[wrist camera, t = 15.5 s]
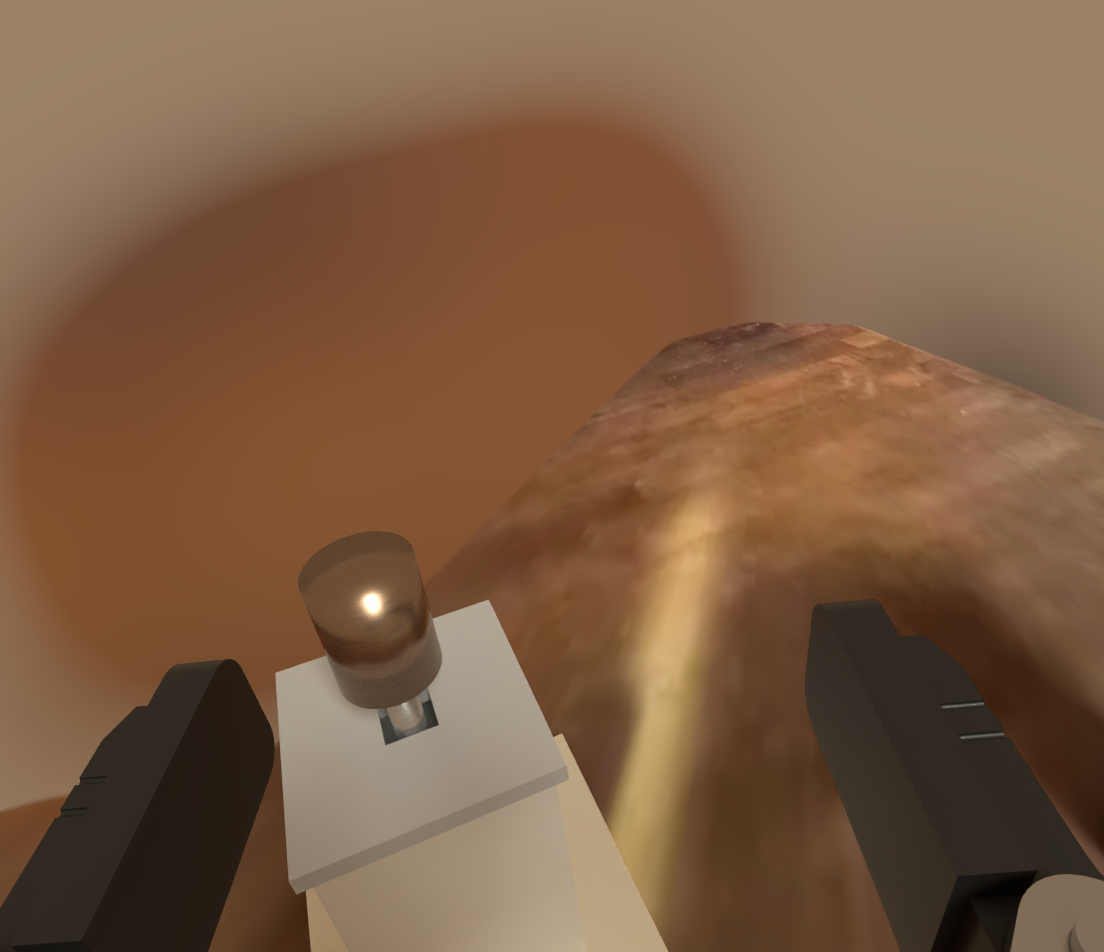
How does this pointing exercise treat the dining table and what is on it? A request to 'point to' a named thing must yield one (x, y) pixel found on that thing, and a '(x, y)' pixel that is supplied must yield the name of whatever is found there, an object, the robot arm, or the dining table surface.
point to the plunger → (374, 624)
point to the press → (449, 816)
